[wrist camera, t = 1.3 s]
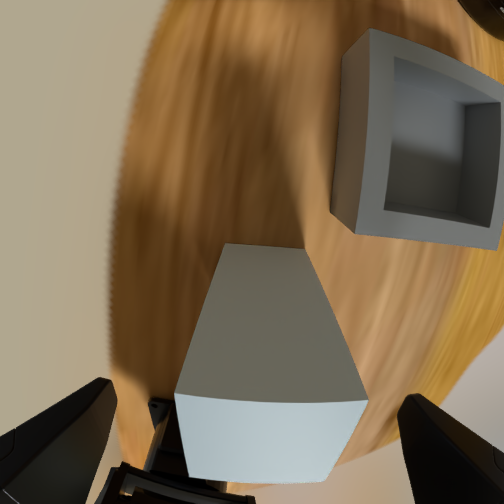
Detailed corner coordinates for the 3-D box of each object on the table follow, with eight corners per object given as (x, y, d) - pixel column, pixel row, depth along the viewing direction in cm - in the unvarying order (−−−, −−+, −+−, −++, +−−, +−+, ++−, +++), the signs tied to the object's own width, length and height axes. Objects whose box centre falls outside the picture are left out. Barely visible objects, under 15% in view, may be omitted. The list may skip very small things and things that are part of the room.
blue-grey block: (294, 317, 16) (324, 481, 7) (222, 312, 16) (189, 476, 7) (305, 249, 15) (368, 400, 5) (225, 243, 15) (173, 393, 5)
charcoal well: (454, 228, 14) (496, 250, 10) (329, 212, 14) (354, 234, 10) (466, 96, 11) (511, 90, 8) (341, 56, 11) (369, 27, 8)
